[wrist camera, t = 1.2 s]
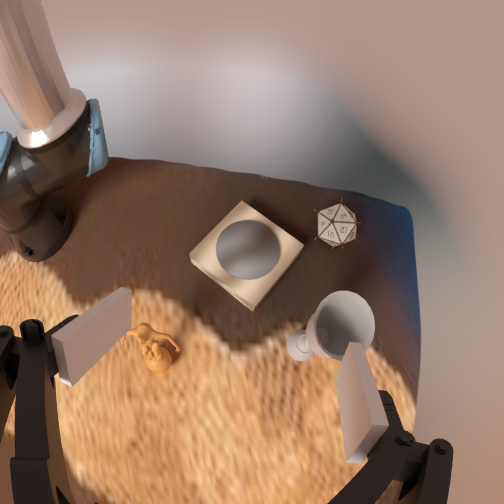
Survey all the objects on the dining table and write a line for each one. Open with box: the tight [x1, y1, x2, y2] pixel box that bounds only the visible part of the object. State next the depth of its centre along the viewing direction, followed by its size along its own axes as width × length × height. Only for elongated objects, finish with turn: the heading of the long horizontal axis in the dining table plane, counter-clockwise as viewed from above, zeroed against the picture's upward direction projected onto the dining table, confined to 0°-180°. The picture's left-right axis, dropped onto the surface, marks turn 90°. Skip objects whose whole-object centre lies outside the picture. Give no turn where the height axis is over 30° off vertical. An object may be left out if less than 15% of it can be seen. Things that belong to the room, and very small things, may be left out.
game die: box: [314, 198, 361, 251], centre depth 49 cm, size 9×8×10 cm
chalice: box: [287, 291, 375, 361], centre depth 36 cm, size 7×7×18 cm
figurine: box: [121, 323, 181, 373], centre depth 36 cm, size 8×6×12 cm
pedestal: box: [189, 201, 304, 311], centre depth 47 cm, size 13×13×4 cm
